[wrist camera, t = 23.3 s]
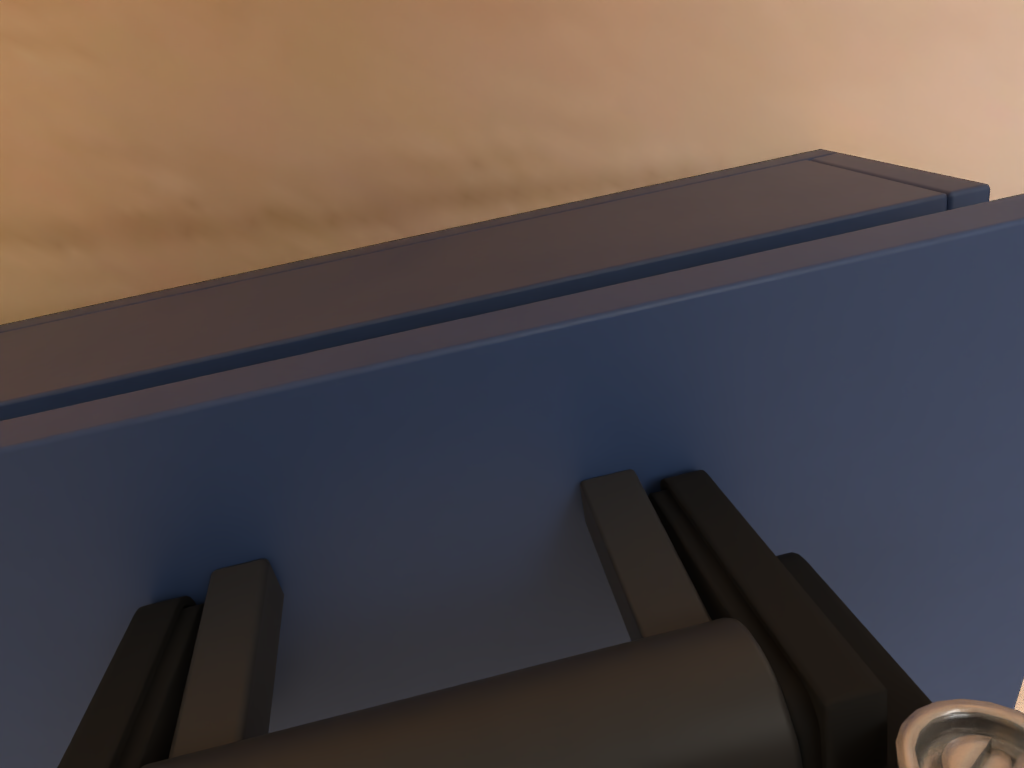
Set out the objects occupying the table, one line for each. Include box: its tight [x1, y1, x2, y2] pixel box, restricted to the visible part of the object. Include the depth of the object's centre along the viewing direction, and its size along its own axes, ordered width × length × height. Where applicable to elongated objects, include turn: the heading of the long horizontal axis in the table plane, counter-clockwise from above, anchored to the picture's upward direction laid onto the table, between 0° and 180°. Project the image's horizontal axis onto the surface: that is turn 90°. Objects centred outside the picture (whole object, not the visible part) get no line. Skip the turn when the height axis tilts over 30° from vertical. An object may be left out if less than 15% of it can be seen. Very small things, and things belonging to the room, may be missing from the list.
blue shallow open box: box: [0, 149, 990, 421], centre depth 16 cm, size 16×18×5 cm
